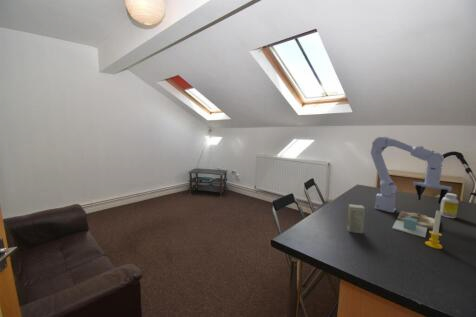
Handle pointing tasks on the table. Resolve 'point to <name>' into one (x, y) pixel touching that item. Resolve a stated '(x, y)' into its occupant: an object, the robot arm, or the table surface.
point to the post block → (418, 219)
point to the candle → (435, 233)
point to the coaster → (419, 229)
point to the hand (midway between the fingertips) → (429, 201)
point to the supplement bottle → (449, 206)
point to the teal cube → (410, 223)
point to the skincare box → (355, 218)
